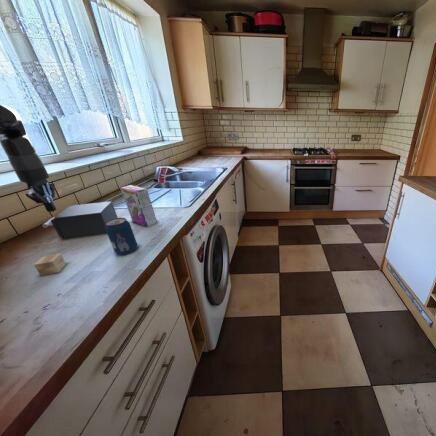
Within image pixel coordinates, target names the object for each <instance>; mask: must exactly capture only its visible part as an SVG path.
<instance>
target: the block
mask: <svg viewBox="0 0 436 436" xmlns="http://www.w3.org/2000/svg"><path fill="white" fill-rule="evenodd" d="M66 265H67V263H66V262H65V260H64V257H63V256H62V254H61V253H55V254H49V255H42V257H40V258H39V259H38V260H37V261H36V262H35V263H34V264H33V266H34V268H35V270H36V271H37V272H38V274H39V276H41V277H43V276H48V275H53V274H59V273H60V272H61V270H63V268H64V267H65V266H66Z"/></svg>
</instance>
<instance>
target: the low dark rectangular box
mask: <svg viewBox="0 0 436 436" xmlns="http://www.w3.org/2000/svg"><path fill="white" fill-rule="evenodd" d="M65 209H66V210H65ZM65 209H63V210H62V211H63V212H62V211H61V212H62V213H61V212H60V213H58V214H59V215H58V214H57V215H58V216H57V215H55V216H54V217H55V218H54V219H55V221H56V223H57V225H58V227H59V228H60V230H61V232H62V234H63V236H64V237H63V238H64V240H71V239H77V238H84V237H85V238H86V237H92V236H99V235H106V234H107V232H106V230H105V227H106V222H107V221H109V220H112V219H115V218H119V217H118V214H117V212H116V209H115V207H114V204H113V201H111V200H110V201H102V202H101V201H100V202H92V203H84V204H83V203H81V204H73V205H70V206H68V207H67V208H65ZM107 235H108V234H107Z"/></svg>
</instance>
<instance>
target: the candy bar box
mask: <svg viewBox="0 0 436 436" xmlns="http://www.w3.org/2000/svg"><path fill="white" fill-rule="evenodd" d="M120 192H121V194H122V197H123V200H124V203H125V205H126V207H127V210H128V213H129V215H130V219H131V221H132V222H133V223H135V224H138V225H141V226H144V227H150V226H153V225H155V224H158V220H157V216H156V214H155V212H154V207H153V204H152V202H151V198H150V195H149V191H148V189H147V188H146V187H141V186H137V185H133V184H129V185H126V186H122V187H120Z"/></svg>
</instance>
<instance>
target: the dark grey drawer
mask: <svg viewBox="0 0 436 436" xmlns="http://www.w3.org/2000/svg"><path fill="white" fill-rule="evenodd" d="M66 209H67V208H65V209H64V210H66ZM64 210H62V211H61V212H60V213H62V212H63V211H64ZM60 213H58V214H56V216H58V215H59V214H60ZM56 216H53V217H51V218H50V219H48V220H47V221H46V222H44V223H43V224H42V226H41V227H42V228H44V229H46V228H48V227H51V226H52V227H53V228H54V230H55V231H56V233H57V236H58V238H60V239H62V238H64V236H63V234H62V232H61V230H60V228H59V227H58V225H57V223H56V221H55V219H54V218H55V217H56Z"/></svg>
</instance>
